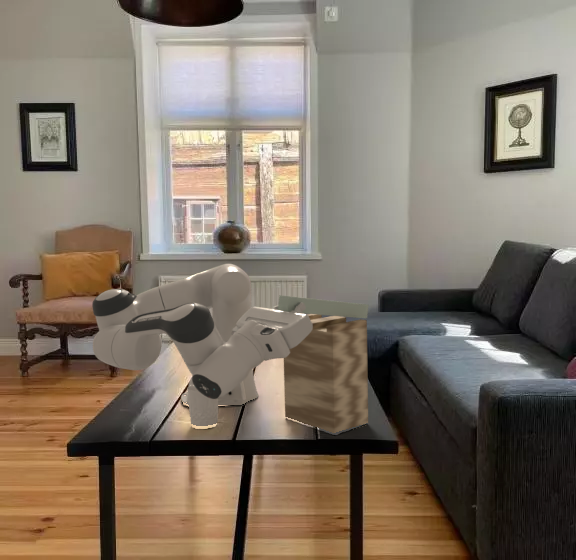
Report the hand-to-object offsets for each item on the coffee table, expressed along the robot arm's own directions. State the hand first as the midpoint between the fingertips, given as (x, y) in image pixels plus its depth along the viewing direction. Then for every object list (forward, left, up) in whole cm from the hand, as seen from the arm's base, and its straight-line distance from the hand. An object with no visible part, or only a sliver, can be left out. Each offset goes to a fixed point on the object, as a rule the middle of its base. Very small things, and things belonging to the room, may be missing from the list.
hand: (295, 303), depth 143 cm
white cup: (-20, +18, -33) cm, 42 cm away
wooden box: (+10, +10, -32) cm, 35 cm away
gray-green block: (+8, +4, -4) cm, 10 cm away
